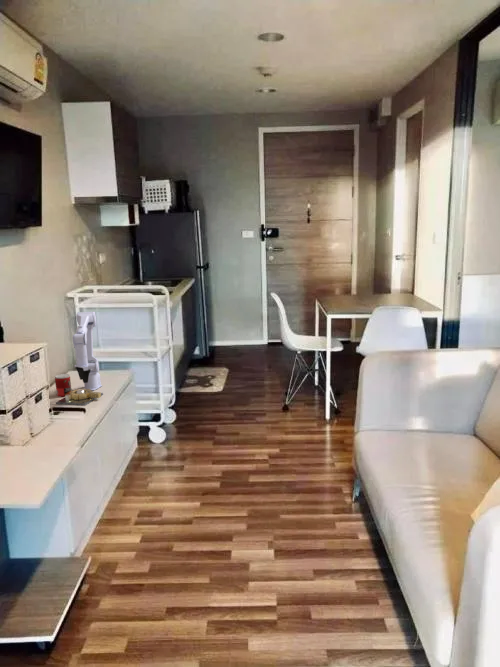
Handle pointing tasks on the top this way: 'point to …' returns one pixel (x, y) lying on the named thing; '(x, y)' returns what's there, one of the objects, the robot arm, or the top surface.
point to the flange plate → (69, 401)
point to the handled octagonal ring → (84, 394)
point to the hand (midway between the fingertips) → (84, 380)
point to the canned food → (63, 384)
